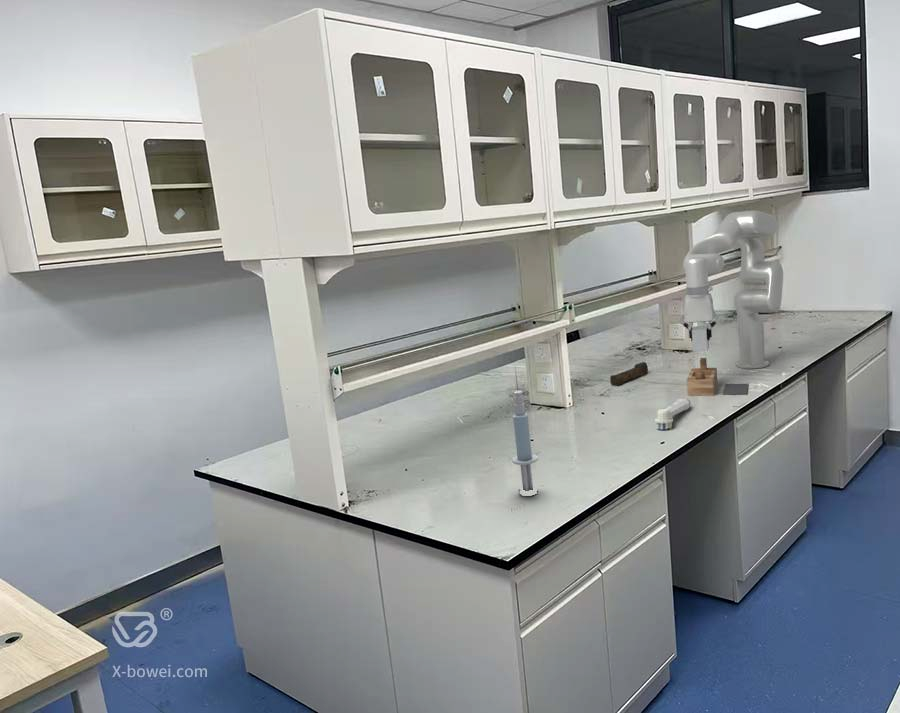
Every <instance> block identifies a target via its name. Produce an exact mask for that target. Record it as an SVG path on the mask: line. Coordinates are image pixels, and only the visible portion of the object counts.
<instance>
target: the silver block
mask: <svg viewBox="0 0 900 713" xmlns="http://www.w3.org/2000/svg"><path fill="white" fill-rule="evenodd" d="M692 328H693V329H692V341H691V342H692V352H693V353H696V352H708V351H709V349H710V340H707V328H708V327H707V325H700V326H699V325H698V326H692Z"/></svg>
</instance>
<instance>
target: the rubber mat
mask: <svg viewBox="0 0 900 713" xmlns="http://www.w3.org/2000/svg"><path fill="white" fill-rule="evenodd" d="M748 389H749V382H747V383H725V384H724V386H723V391H722V396H736V395H737V396H744V395H745V396H747V395H748Z"/></svg>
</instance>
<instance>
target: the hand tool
mask: <svg viewBox="0 0 900 713" xmlns="http://www.w3.org/2000/svg"><path fill="white" fill-rule="evenodd" d="M648 368H649V367H648V363H647V362H646V361H642V362H639V363H635V365H634V367H632V368H630V369H627V370H625V371H622V372H620V373H617V374H612V375H610V377H609V381H610V384H611V385H612V386H615V387H619V386H620V385H623V383H625V382H628V381H631V380H633V379H635V378H643V377H644V376H646V375H648V373H649V369H648Z"/></svg>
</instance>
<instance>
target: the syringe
mask: <svg viewBox="0 0 900 713" xmlns="http://www.w3.org/2000/svg"><path fill="white" fill-rule="evenodd" d="M514 371H515V373H517V368H516V367H514ZM515 382H516V390H515V391H514V392H513V395H514V397H513V399H514V400H513V401H514V404H513V406H514V414H513V415H512V418H513V419H512V420H513V427H514V428H513V429H514V439H515V446H516V455H515V456H513V457H512V459H511V461H512V463H513V464H514V465H517V466H520V473H521V483H522V487H523V490H525V491H529V490H533V486H534V485H533V484H534V483H533V475H532V474H533V473H532V466H531V464H534V463H536V462H538V460H539V458H538V456H537V455H536V454H532V445H531V435H530V427H529V426H530V424H529V415H528V413H526V410H525V403H524V396H523V391H521V390H519V384H518V377H517V374H515Z"/></svg>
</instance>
